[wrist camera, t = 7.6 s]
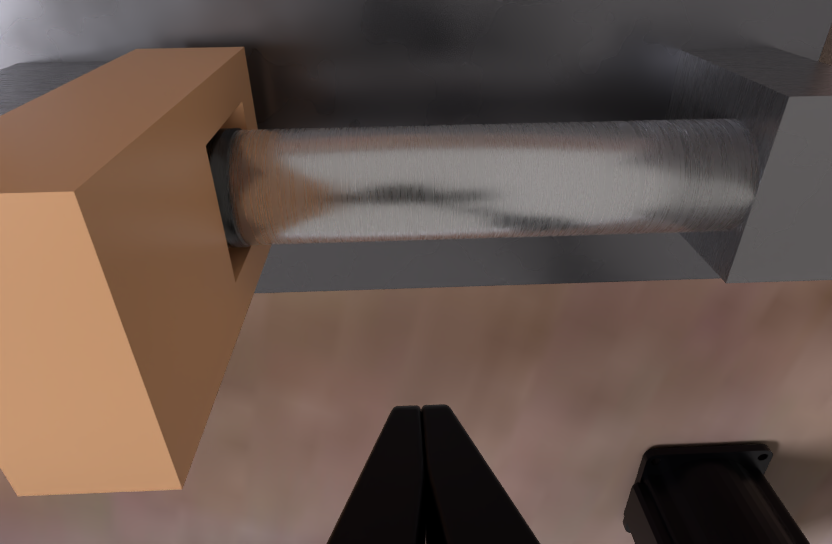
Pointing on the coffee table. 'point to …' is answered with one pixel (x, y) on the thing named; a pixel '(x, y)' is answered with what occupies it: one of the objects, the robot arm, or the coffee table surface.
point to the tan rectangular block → (118, 272)
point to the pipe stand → (493, 133)
